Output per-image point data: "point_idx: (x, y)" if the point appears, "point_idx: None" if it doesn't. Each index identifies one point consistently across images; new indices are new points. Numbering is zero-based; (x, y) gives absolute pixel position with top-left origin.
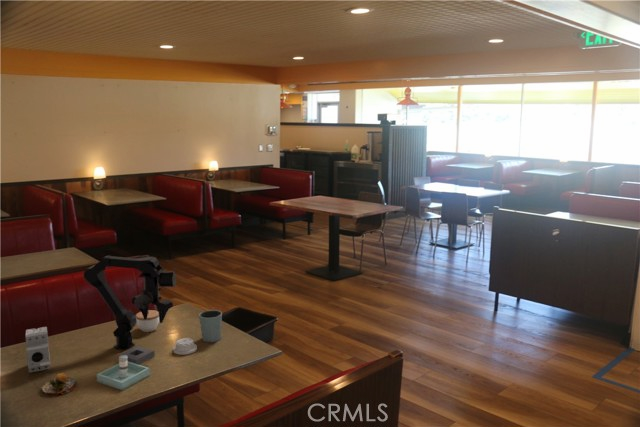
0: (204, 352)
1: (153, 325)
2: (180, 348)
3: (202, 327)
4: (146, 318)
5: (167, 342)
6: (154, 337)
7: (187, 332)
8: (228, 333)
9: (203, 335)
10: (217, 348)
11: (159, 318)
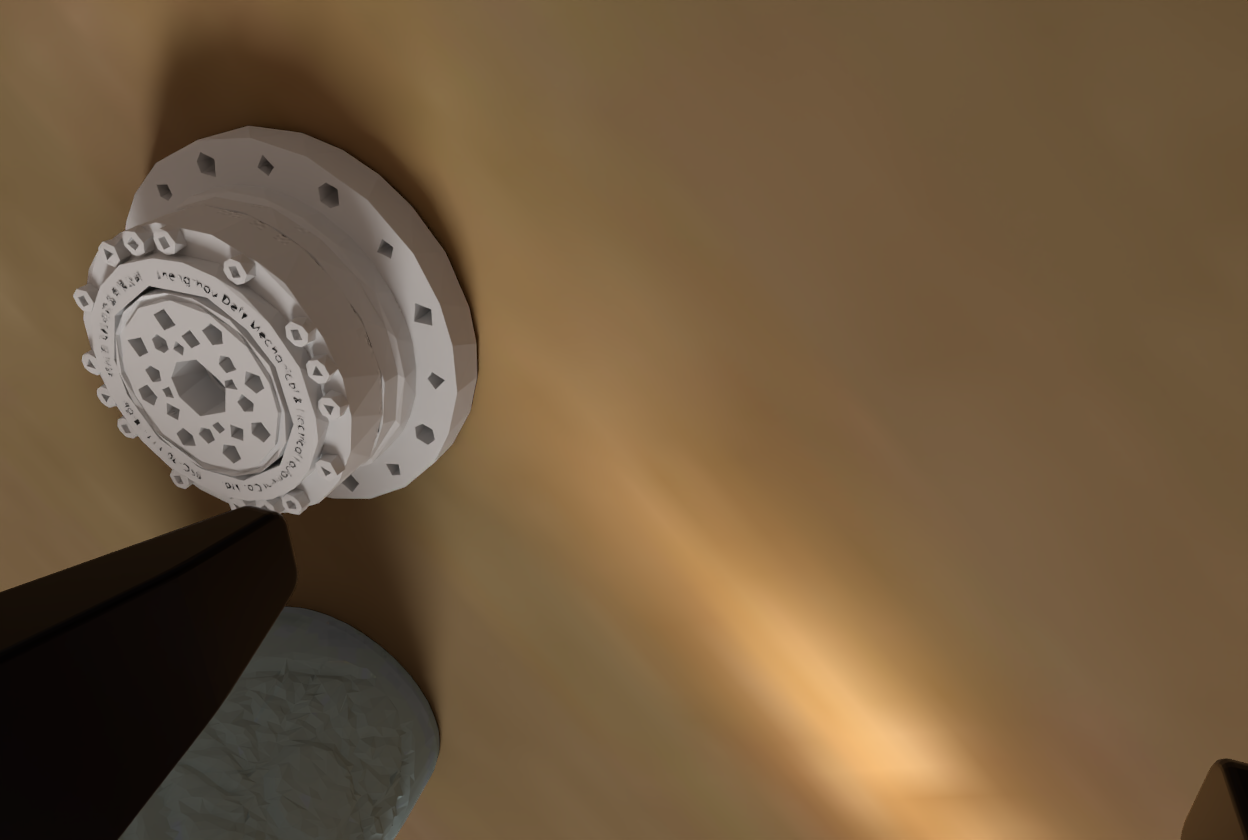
0: (82, 336)
1: None
2: (194, 205)
3: (202, 773)
4: (1187, 833)
5: (766, 481)
6: (1181, 617)
7: (730, 827)
8: None
9: (286, 676)
10: (82, 480)
11: (73, 610)
